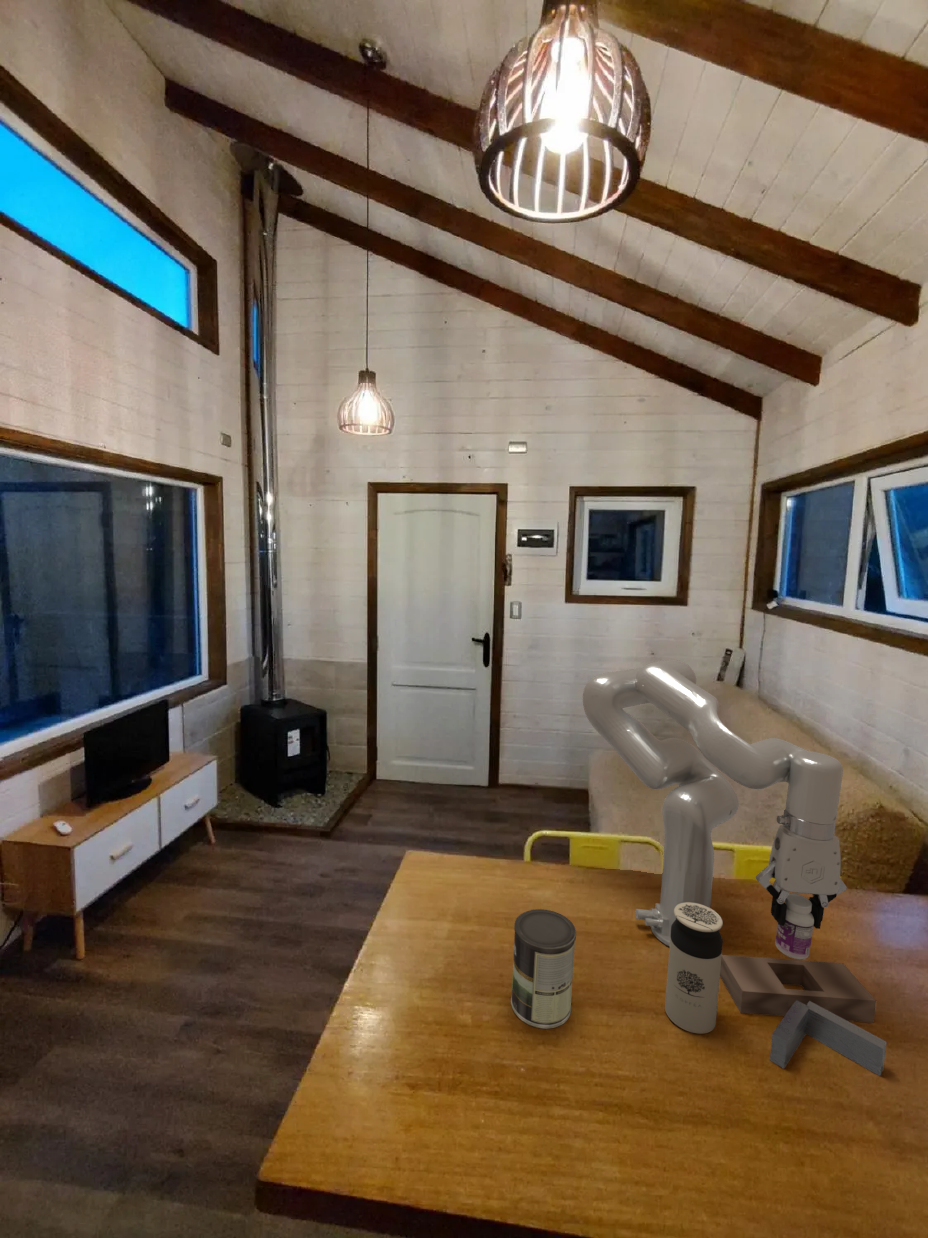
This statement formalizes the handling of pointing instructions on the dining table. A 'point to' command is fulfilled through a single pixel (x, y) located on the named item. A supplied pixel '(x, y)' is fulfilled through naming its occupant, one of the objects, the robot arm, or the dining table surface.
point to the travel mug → (694, 967)
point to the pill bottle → (796, 928)
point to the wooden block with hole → (823, 984)
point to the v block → (826, 1037)
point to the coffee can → (543, 968)
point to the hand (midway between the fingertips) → (795, 921)
